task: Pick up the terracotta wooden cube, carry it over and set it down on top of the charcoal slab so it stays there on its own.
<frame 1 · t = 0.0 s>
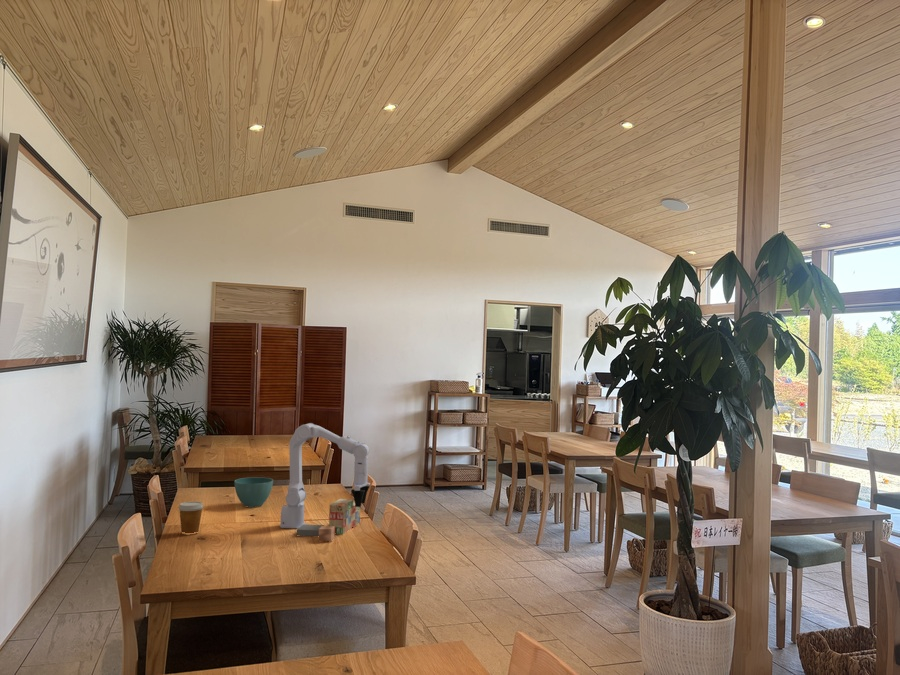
hand: (360, 504, 284), 10 cm above the table, tool pointing down, fingers open, 7 cm apart
charcoal slab: (310, 534, 274), on the table
terracotta cube: (326, 540, 265), on the table
teal bowl: (253, 506, 326), on the table
stack of blocks: (344, 529, 284), on the table
disposable coffee cup: (190, 533, 271), on the table
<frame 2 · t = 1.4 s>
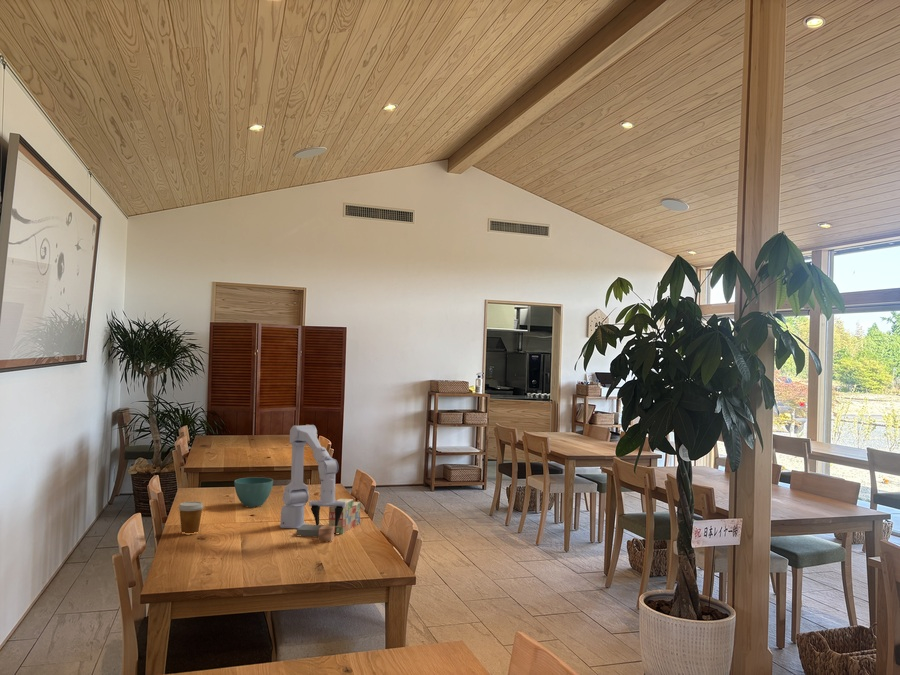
hand: (327, 525, 265), 6 cm above the table, tool pointing down, fingers open, 7 cm apart
nothing on the table moved.
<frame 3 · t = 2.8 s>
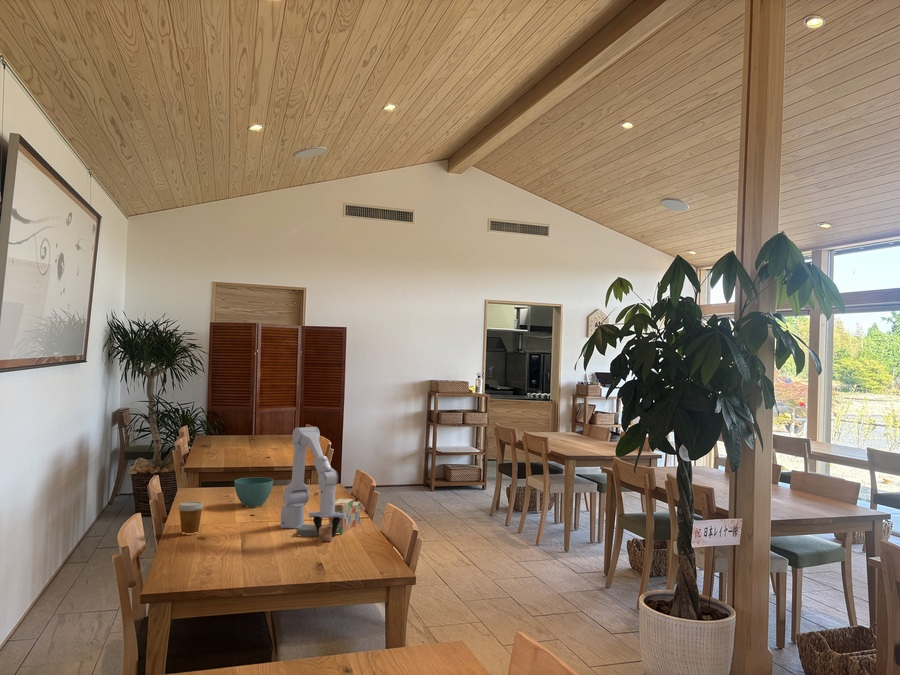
hand: (326, 536, 265), 1 cm above the table, tool pointing down, fingers closed on terracotta cube, 5 cm apart
terracotta cube: (326, 540, 265), on the table, touching gripper
everything else where it was.
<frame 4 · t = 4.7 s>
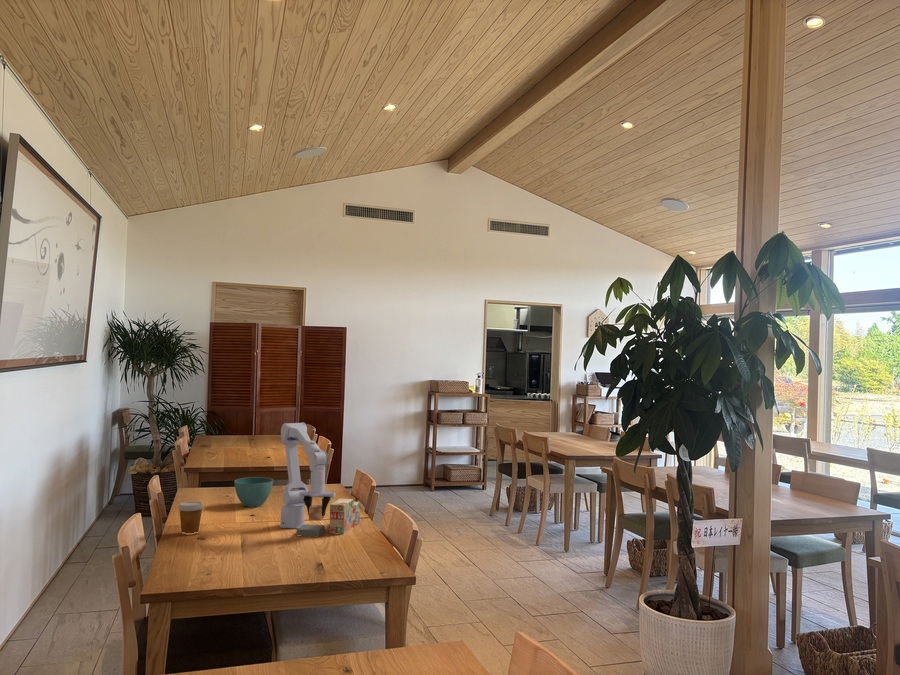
hand: (316, 515, 271), 8 cm above the table, tool pointing down, fingers closed on terracotta cube, 5 cm apart
terracotta cube: (316, 518, 271), point 7 cm above the table, touching gripper
everything else where it was.
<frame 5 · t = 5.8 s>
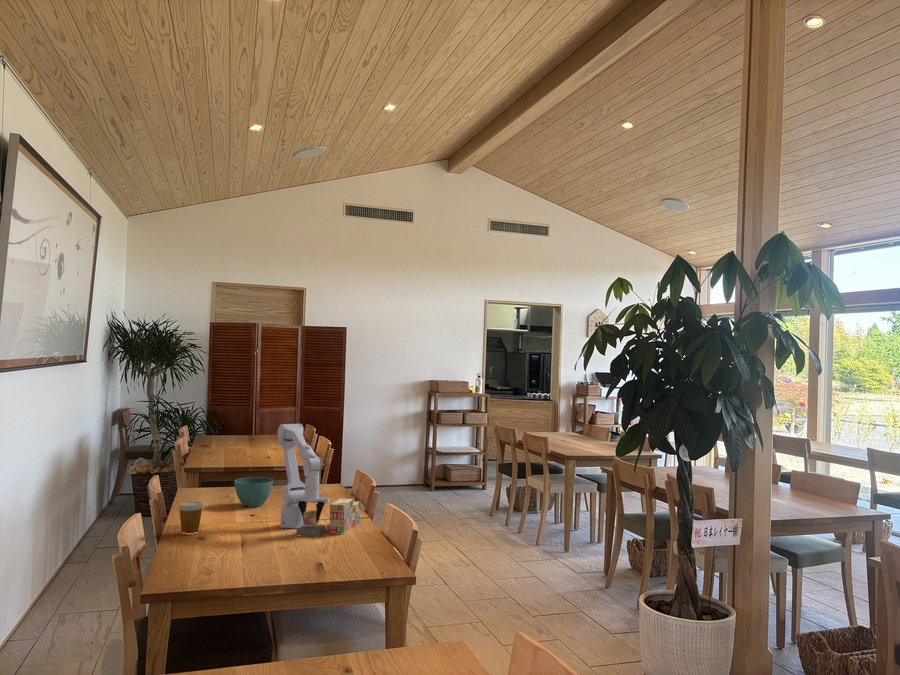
hand: (311, 520, 275), 5 cm above the table, tool pointing down, fingers closed on terracotta cube, 5 cm apart
terracotta cube: (311, 523, 274), point 4 cm above the table, touching gripper
everything else where it was.
when the fingers open (5 cm above the table, at t = 6.5 s): terracotta cube drops 1 cm, resting on charcoal slab.
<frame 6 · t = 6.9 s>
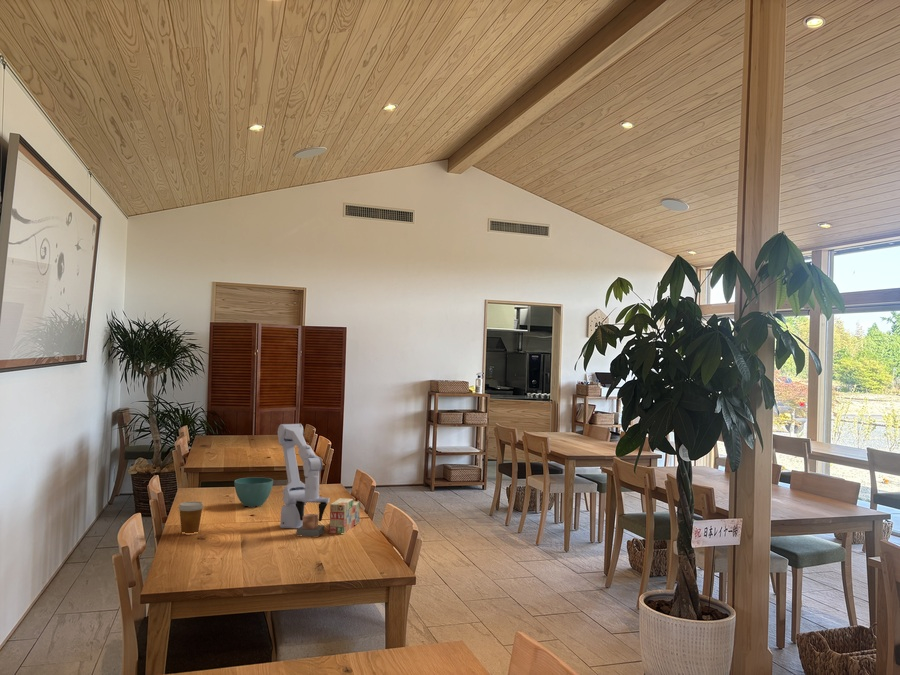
hand: (311, 520, 275), 5 cm above the table, tool pointing down, fingers open, 7 cm apart
charcoal slab: (310, 534, 274), on the table, touching terracotta cube
terracotta cube: (310, 527, 274), point 2 cm above the table, touching charcoal slab
everything else where it was.
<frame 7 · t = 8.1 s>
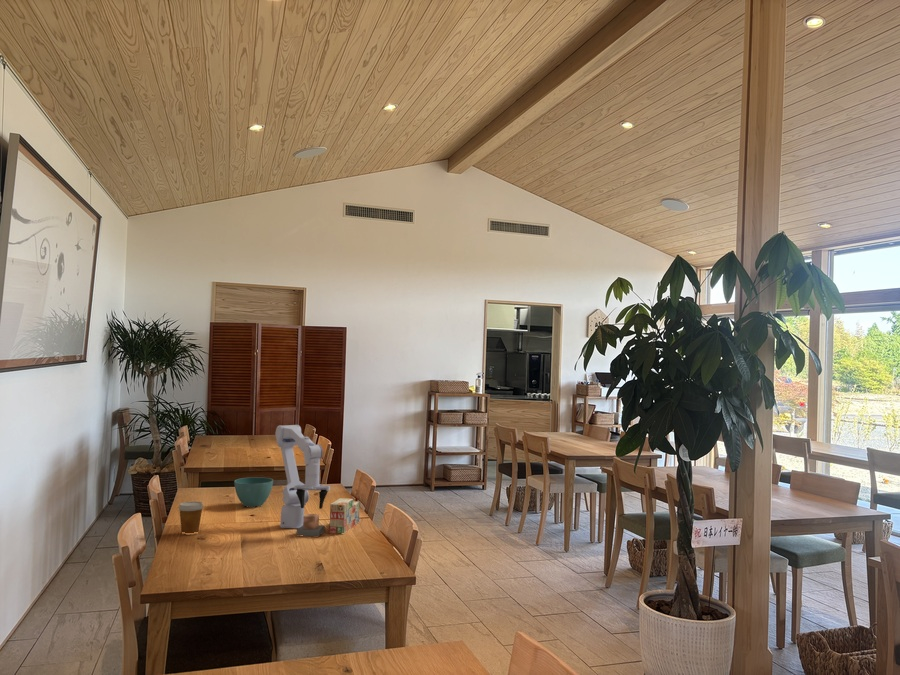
hand: (311, 508, 275), 10 cm above the table, tool pointing down, fingers open, 7 cm apart
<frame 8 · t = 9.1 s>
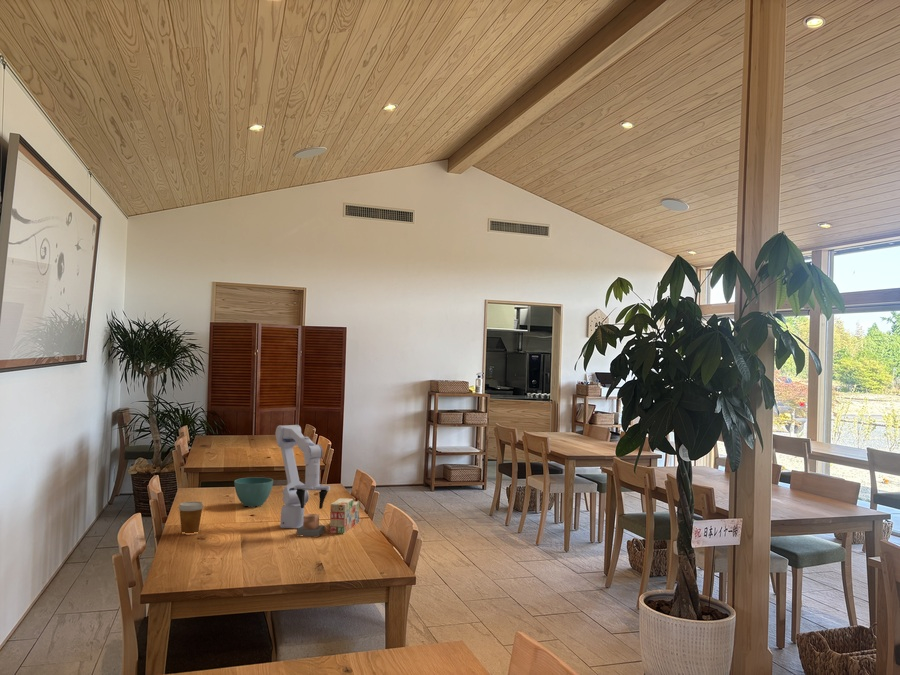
hand: (311, 508, 275), 10 cm above the table, tool pointing down, fingers open, 7 cm apart
at the end: terracotta cube inside the target area on the charcoal slab (0.1 cm from its centre), point 3.0 cm above the charcoal slab's base; terracotta cube tilted 1°; the gripper is holding nothing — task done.
